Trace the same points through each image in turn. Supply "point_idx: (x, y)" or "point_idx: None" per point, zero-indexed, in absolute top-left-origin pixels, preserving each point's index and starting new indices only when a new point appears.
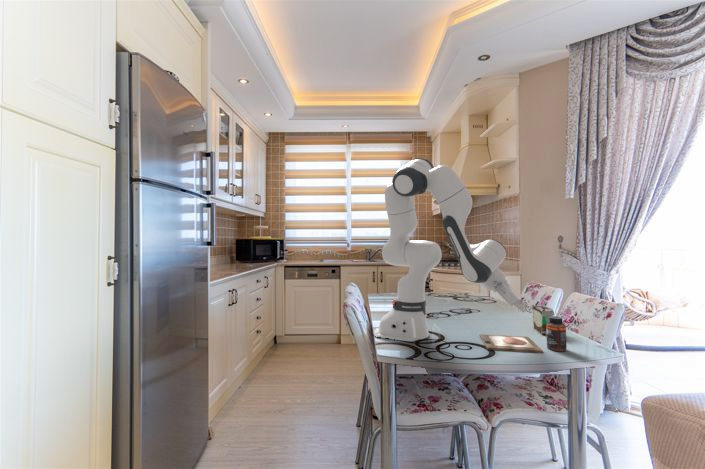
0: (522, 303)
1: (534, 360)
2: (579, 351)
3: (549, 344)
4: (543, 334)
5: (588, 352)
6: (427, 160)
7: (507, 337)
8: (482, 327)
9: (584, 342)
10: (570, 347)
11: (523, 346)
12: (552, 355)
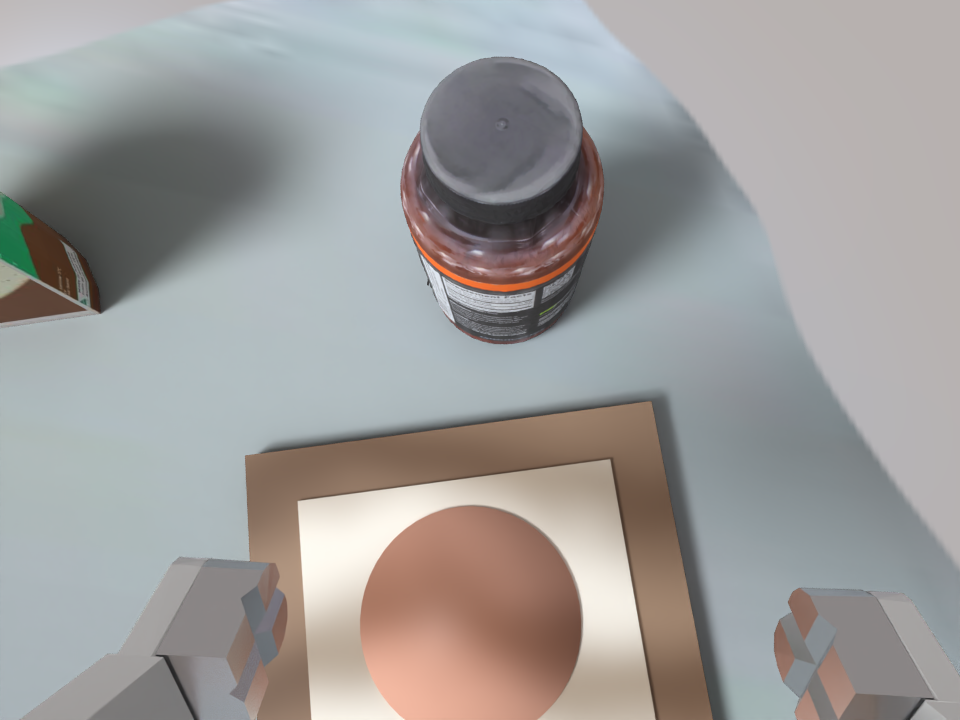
0: (259, 587)
1: (876, 509)
2: None
3: (543, 324)
4: (95, 297)
5: None
6: None
7: (336, 674)
8: None
9: (249, 45)
10: None
11: (603, 554)
12: (682, 344)
